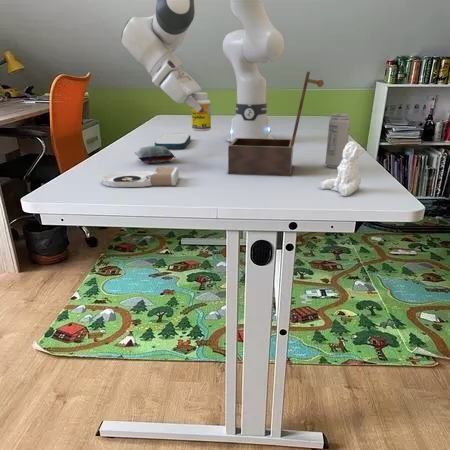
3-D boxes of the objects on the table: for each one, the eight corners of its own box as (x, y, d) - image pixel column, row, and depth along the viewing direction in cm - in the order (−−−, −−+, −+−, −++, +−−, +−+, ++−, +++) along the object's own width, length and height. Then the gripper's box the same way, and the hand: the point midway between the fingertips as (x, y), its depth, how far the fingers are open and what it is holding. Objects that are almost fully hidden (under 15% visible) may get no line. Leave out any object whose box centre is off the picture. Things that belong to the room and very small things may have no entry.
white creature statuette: (318, 188, 117) (322, 140, 112) (343, 183, 121) (348, 137, 116) (344, 197, 110) (350, 145, 104) (370, 192, 114) (377, 142, 108)
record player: (173, 175, 117) (96, 176, 117) (174, 187, 118) (97, 188, 119) (178, 165, 127) (107, 166, 128) (179, 176, 129) (109, 177, 129)
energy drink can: (347, 168, 138) (353, 115, 131) (328, 168, 137) (333, 116, 131) (341, 163, 143) (347, 113, 136) (322, 164, 143) (327, 113, 136)
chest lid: (306, 71, 117) (326, 75, 116) (307, 70, 129) (324, 73, 128) (290, 145, 125) (308, 149, 125) (292, 137, 138) (308, 140, 137)
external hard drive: (163, 138, 187) (163, 133, 186) (191, 138, 186) (191, 133, 185) (153, 149, 165) (152, 143, 165) (184, 149, 165) (184, 143, 164)
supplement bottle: (188, 131, 133) (187, 93, 129) (196, 128, 138) (195, 91, 133) (206, 132, 131) (205, 93, 127) (213, 129, 136) (213, 92, 131)
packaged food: (135, 160, 149) (133, 144, 147) (170, 158, 152) (170, 142, 150) (139, 166, 142) (137, 149, 139) (176, 163, 145) (175, 147, 143)
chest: (228, 173, 132) (228, 145, 128) (235, 163, 144) (235, 137, 140) (290, 176, 129) (291, 147, 126) (292, 165, 141) (293, 139, 138)
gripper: (171, 78, 139) (203, 112, 142) (150, 82, 121) (187, 121, 124) (184, 62, 137) (217, 97, 140) (165, 63, 119) (203, 104, 122)
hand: (203, 109), depth 132 cm, fingers closed on supplement bottle, 5 cm apart
